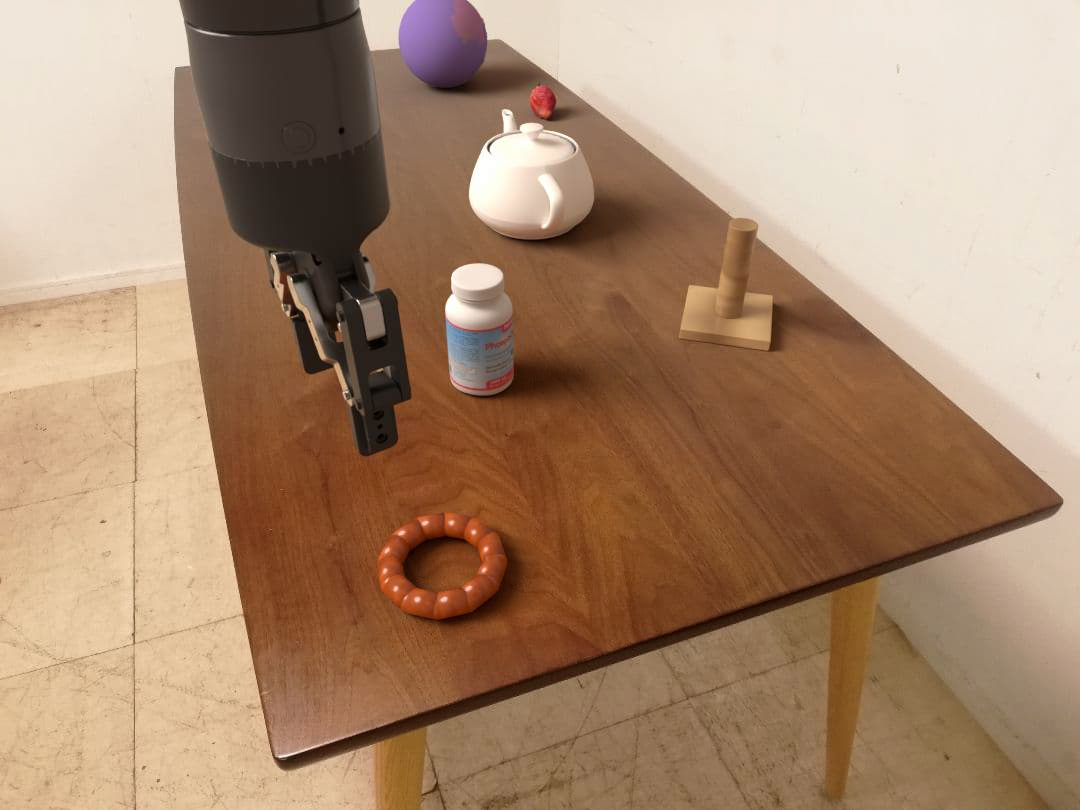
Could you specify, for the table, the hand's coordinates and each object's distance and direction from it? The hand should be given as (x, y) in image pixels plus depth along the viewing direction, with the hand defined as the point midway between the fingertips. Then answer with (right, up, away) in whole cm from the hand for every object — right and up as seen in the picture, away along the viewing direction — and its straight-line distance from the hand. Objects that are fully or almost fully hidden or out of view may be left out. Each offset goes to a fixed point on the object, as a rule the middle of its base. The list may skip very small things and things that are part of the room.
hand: (347, 405), depth 47 cm
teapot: (+10, +24, +58) cm, 64 cm away
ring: (+4, -12, +13) cm, 18 cm away
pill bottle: (+5, +2, +32) cm, 32 cm away
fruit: (+11, +47, +87) cm, 99 cm away
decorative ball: (-6, +56, +98) cm, 113 cm away
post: (+31, +9, +40) cm, 51 cm away
